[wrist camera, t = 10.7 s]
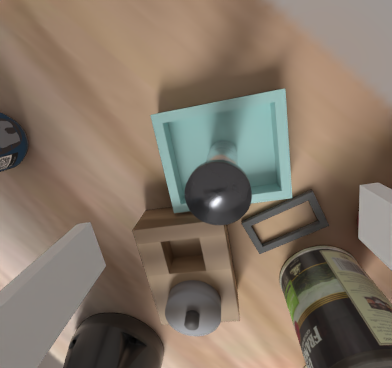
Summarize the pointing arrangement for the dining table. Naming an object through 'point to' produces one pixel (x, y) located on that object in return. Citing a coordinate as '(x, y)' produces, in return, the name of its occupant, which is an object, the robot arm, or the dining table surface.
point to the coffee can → (337, 310)
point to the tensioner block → (188, 270)
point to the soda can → (11, 143)
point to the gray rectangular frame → (278, 209)
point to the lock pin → (219, 187)
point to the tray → (235, 133)
